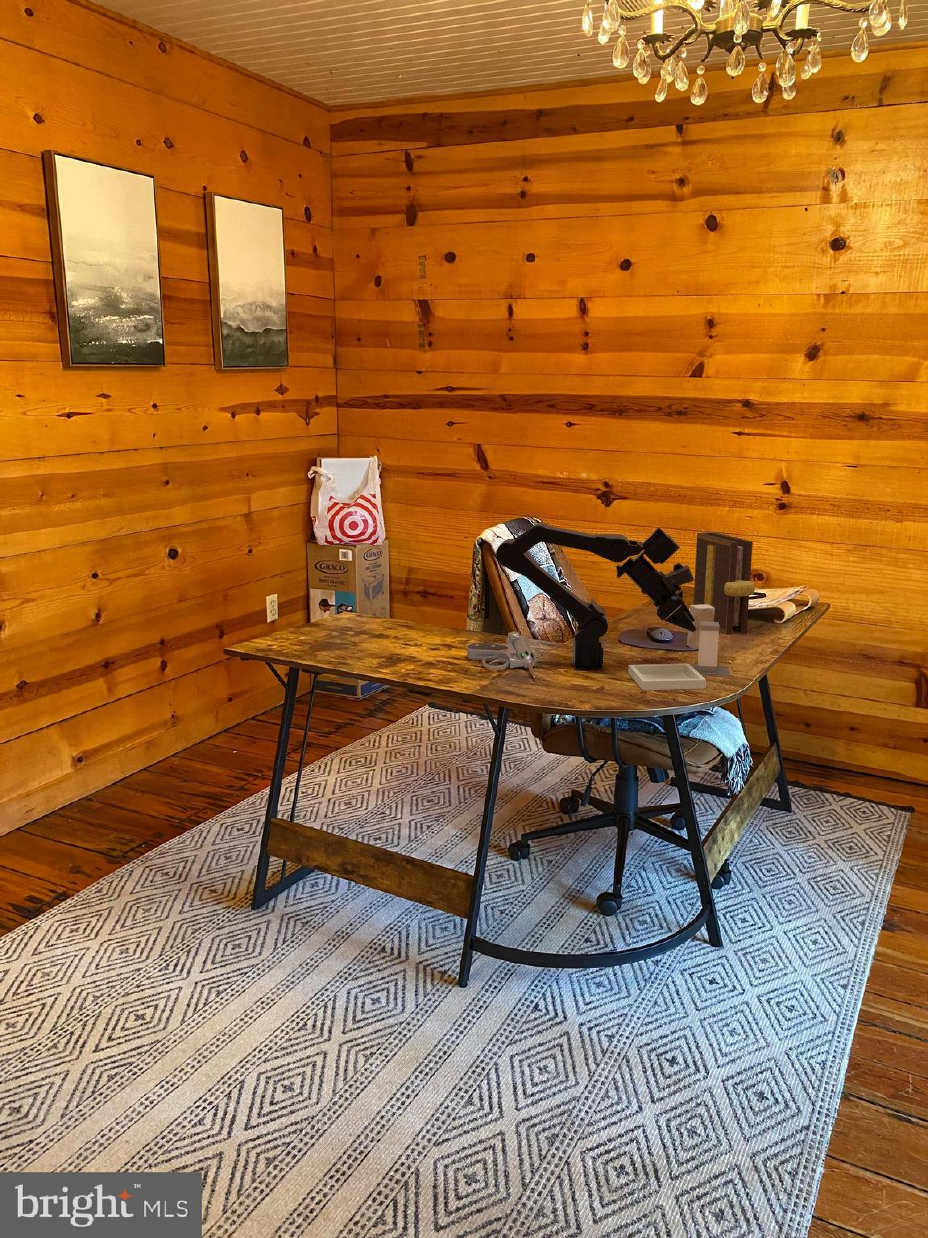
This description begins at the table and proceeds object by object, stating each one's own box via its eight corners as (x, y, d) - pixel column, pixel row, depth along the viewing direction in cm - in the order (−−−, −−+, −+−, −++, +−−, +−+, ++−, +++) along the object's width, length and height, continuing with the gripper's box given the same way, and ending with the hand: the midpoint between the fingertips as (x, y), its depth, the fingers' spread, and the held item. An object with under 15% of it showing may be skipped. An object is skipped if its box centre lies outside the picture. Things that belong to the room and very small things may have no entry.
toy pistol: (464, 654, 244) (526, 646, 245) (478, 696, 217) (547, 687, 219) (462, 632, 242) (525, 625, 243) (476, 672, 216) (545, 663, 217)
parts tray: (642, 692, 209) (643, 681, 208) (628, 675, 222) (628, 664, 221) (705, 690, 210) (706, 679, 209) (687, 673, 223) (688, 663, 222)
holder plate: (685, 675, 222) (685, 673, 221) (684, 666, 229) (684, 663, 229) (730, 677, 220) (730, 675, 220) (727, 668, 227) (727, 666, 227)
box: (693, 651, 243) (695, 608, 240) (686, 646, 247) (688, 604, 244) (712, 649, 244) (715, 607, 241) (705, 645, 248) (707, 603, 245)
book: (686, 619, 277) (690, 533, 271) (712, 617, 279) (717, 531, 273) (729, 637, 256) (734, 544, 250) (756, 635, 259) (763, 542, 253)
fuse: (698, 671, 223) (700, 625, 220) (697, 666, 227) (699, 621, 224) (716, 672, 222) (719, 626, 219) (715, 667, 226) (718, 622, 223)
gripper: (674, 560, 211) (723, 611, 211) (672, 547, 229) (718, 594, 229) (636, 595, 214) (685, 644, 215) (637, 579, 232) (682, 625, 232)
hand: (694, 626), depth 223 cm, fingers open, 9 cm apart
